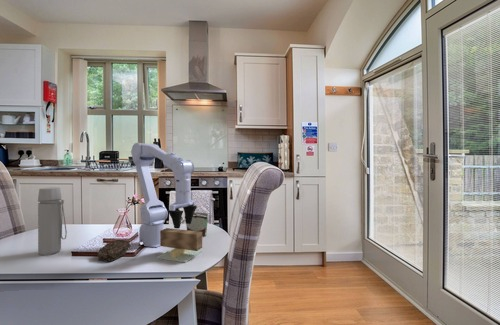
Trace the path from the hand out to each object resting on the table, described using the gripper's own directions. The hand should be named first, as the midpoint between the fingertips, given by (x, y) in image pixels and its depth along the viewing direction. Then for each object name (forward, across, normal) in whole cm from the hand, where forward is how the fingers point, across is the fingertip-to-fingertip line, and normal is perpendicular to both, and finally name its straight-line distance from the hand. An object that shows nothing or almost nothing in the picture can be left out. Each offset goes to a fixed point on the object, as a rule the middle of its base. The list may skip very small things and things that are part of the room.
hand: (182, 225), depth 103 cm
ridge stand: (+10, -3, -1) cm, 11 cm away
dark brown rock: (+11, -13, +22) cm, 28 cm away
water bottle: (+11, -18, +47) cm, 51 cm away
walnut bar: (+7, -3, -1) cm, 8 cm away
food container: (+11, +24, +7) cm, 27 cm away
